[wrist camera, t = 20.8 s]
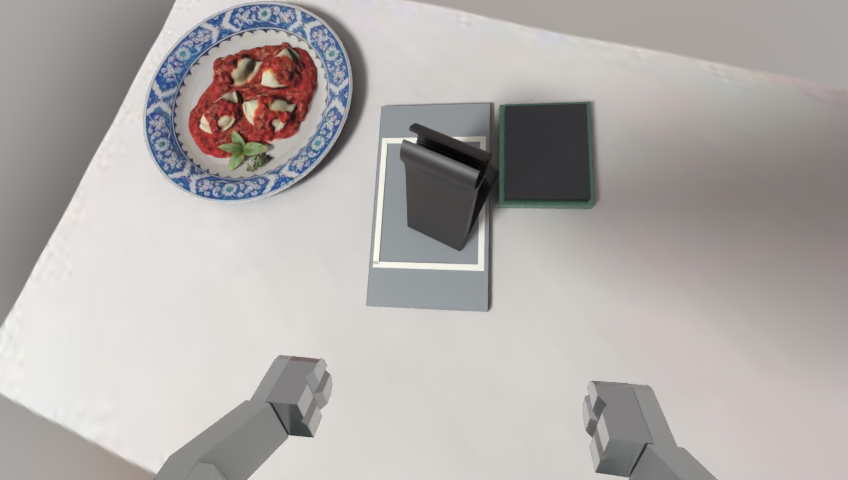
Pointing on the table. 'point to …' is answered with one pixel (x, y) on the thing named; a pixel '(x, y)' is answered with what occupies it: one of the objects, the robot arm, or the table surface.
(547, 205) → the ink pad
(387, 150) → the marked board
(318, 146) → the ceramic plate
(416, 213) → the phone stand
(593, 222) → the table surface
